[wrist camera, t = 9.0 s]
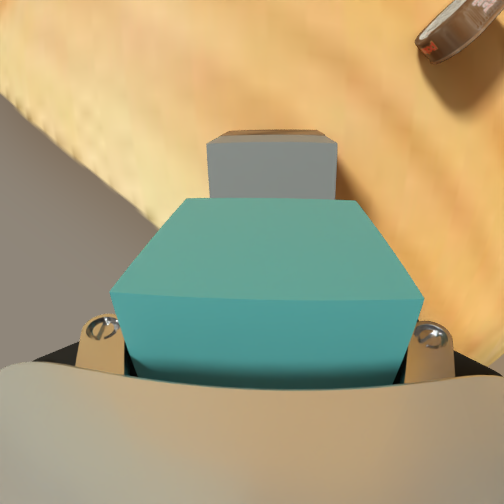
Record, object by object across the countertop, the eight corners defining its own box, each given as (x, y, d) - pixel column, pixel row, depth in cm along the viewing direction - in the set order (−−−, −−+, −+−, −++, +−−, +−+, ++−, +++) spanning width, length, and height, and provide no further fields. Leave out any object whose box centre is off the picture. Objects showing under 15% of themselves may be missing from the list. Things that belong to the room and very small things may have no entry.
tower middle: (325, 135, 22) (337, 143, 18) (321, 232, 26) (330, 260, 21) (220, 136, 23) (206, 143, 18) (225, 231, 26) (215, 259, 22)
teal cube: (355, 200, 11) (424, 298, 5) (336, 332, 13) (358, 451, 8) (186, 198, 11) (109, 291, 6) (201, 329, 14) (168, 444, 8)
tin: (420, 69, 23) (465, 63, 15) (397, 45, 22) (438, 30, 14) (486, 1, 17) (530, -12, 9) (467, -20, 16) (509, -39, 9)
